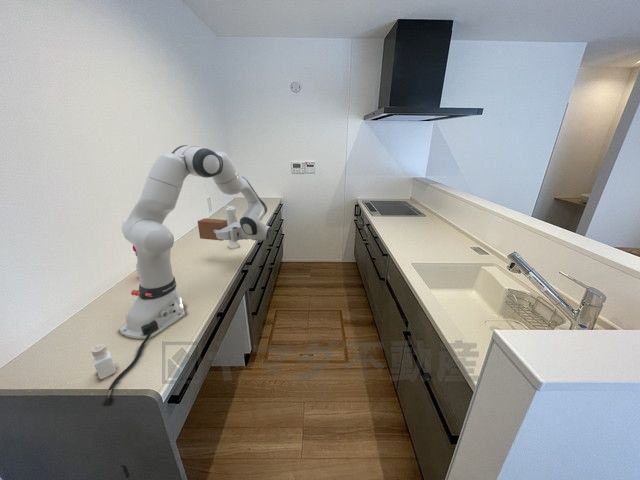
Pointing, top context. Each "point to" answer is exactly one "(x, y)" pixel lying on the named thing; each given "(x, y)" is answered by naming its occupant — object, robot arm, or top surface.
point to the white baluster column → (231, 219)
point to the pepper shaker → (103, 361)
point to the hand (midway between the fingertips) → (218, 228)
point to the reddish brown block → (210, 228)
